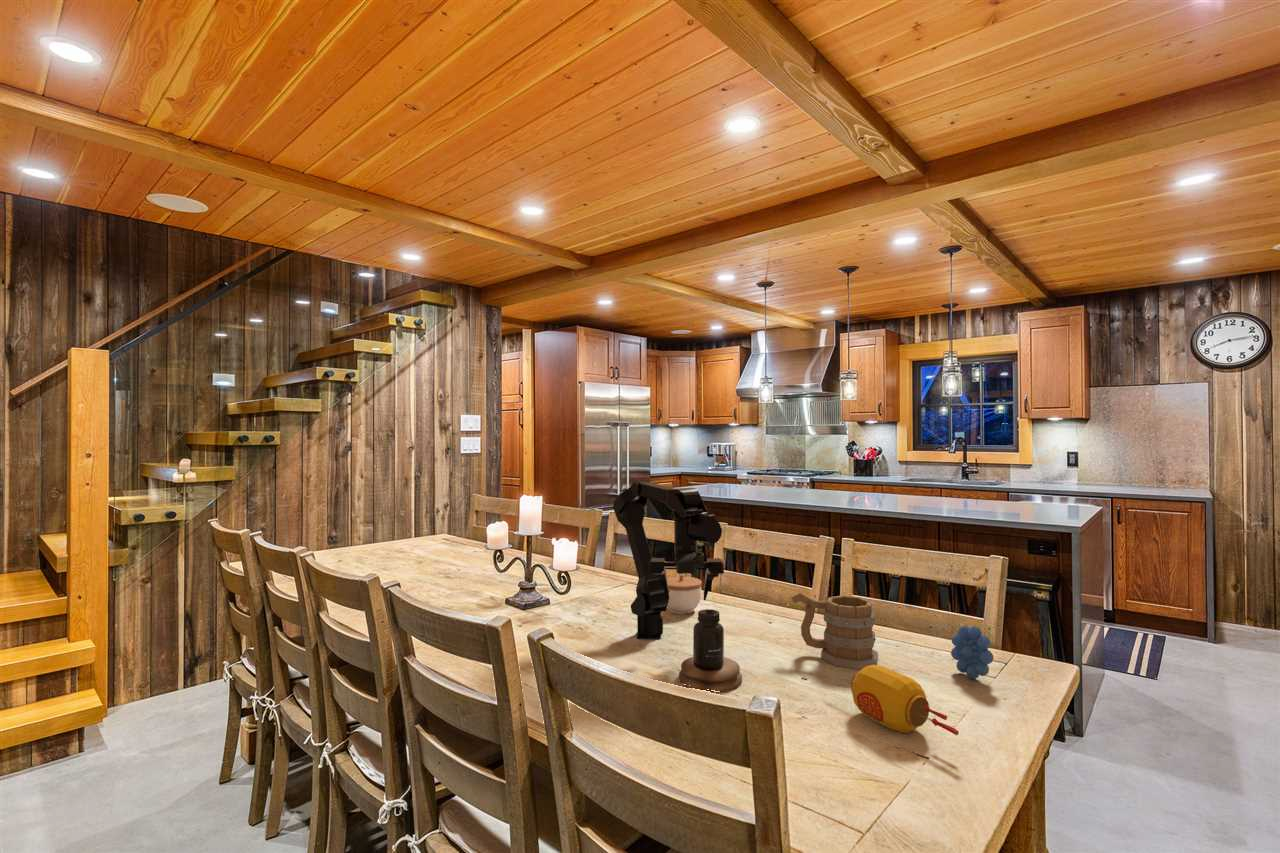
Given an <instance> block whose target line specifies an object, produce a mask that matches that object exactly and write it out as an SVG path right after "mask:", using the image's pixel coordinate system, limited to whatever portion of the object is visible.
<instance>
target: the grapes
mask: <svg viewBox="0 0 1280 853" xmlns="http://www.w3.org/2000/svg"><path fill="white" fill-rule="evenodd" d="M982 633H983V632H982V630H981V628H980V627H978V626H976V625H972V626H970V627H969V626H968V625H961V626H959V628H958V632H957V633H955V634H953V635H952V638H951V643H952V644H953V648H952V649H951V651H950V655H951V658H953V660H955V661H957V662H956V669H957V671H959V672H960V673H963V674H966V676H967V677H968V678H969V679H971V678H972V679H971V680H977V678H979V676H980V677H985V676H987V675H988V674H989V672H990V666H989V665H990V664H991V663H993V661H994V655H993V652H991V651H990V650H989V648H991V647H990V646H991V640H990V639H989V637H988V636H986V635H983V634H982Z"/></svg>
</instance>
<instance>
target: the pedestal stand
mask: <svg viewBox="0 0 1280 853" xmlns="http://www.w3.org/2000/svg"><path fill="white" fill-rule="evenodd" d="M740 670H741V669H740V665H739V663H738V662H736V661H735V660H733V659H732V658H728V657H725V656H724V664H723V667H722V668H721V669H719V670H714V671H706V670H701V669H698V668H696V667H695V666H694V664H693V656H691V657H688V658H686V659H684V660H683V661H682V662H681V665H680V671H679V673H678V680H680V681H679V683H680V684H681V683H683V684H686V685H683V687H686V688H687V687H689V688H695V689H700V690H706V691H710V692H714V691H711V690H715V691H720V693H726V691H727V692H730V691H733V690H736V689H737V687H738V686H739V687H740V686H741V685H742V683H743V676H742V673H741V671H740ZM689 685H690V686H689ZM739 687H738V688H739ZM689 688H688V689H689ZM707 689H709V690H707ZM717 693H719V692H716V693H715V694H717Z"/></svg>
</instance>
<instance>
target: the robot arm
mask: <svg viewBox="0 0 1280 853" xmlns="http://www.w3.org/2000/svg"><path fill="white" fill-rule="evenodd" d="M650 500H653V501H657V502H659V503H664V504H665V505H666V507H667V508H668V509H670V510H672V513H671V514H670V515H668V518H669V519H671V520H673V521H674V526H673V529H674V530H673V531H674V533H673V534H674V537H673V539H674V542H673V543H674V548H673V549H674V555H673V556H674V557H673V558H674V559H673V560H674V561H665V558H664V557H653V556H652V553H651V550H650V546H649V542H648V539H647V535H646V532H645V528H644V527H645V526H644V525H643V522H644V518H645V516H646V510H645V507H646V506H647V505H648V503H649V502H650ZM703 500H704V499H703V498H702V496H701V494H700V493H699V490H698V489H697V488H695V487H679V488H674V487H671V486H670V487H669V486H666V485H662V484H658V483H656V482H651V481H648V480H641V481H639V480H637V481H634V482H633V483H631V485H630V486H629V487H628V488H626V489H625V490H623V491H622V492H620V494H618V496H617V497H616V498H615V500H614V502H613V505H612V508H613V511H614V514H615V517H616V519H617V521H618V523H619V524H620V525H622V527H623V528H625V532H626V536H627V539H628V543H629V546H630V550H631V554H632V557H633V561H634V565H635V570H636V574H637V577H638V580H637V584H636V589H635V593H636V597H635V599H634V600H633V602H632V603H631V604H630V611H631V613H632V614H633V615H636V616H637V619H636V620H637V621H636V622H637V625H636V626H637V633H636V639H655V640H656V639H657V640H658V639H662V635H663V633H664V617H663V616H662V613H663V612H667V609H668V607H667V606H668V602H669V592H670V591H669V589H668V583H667V578H668V577H667V570H675V572H676V573H677V574H678V575H684V574H690V575H695V574H696V573H697V570H703V571H704V570H705V573H704V574H705V575H704V586H703V601H706V600H707V596H708V594H709V590H710V587H711V585H712V583H713V580H714V579H715V578H718V577H719V575H723V574H725V565H724V561H723V559H722V558H721V557H720V558H719V557H717V558H716V557H714V558H712V557H711V558H709V557H707V559H706V561H705V553H704V552H698V542H700V543H705V544H706V543H707V544H711V545H714V544H717V543H718V541H719V540H720V539H721V537H722V534H723V528H722V526H721V524H720V522H719V521H718V520H716V515H715V514H710V512H709V511H708V507H707V506H706V504H705V502H704V501H703Z"/></svg>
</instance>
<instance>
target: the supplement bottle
mask: <svg viewBox="0 0 1280 853" xmlns="http://www.w3.org/2000/svg"><path fill="white" fill-rule="evenodd" d="M697 621H698V622H696V623H695V624H694V626H693V629H692V630H693V632H692V633H693V638H692V639H693V644H692V649H693V651H692V655H693V656H692V657H693V664H694V666H695V667H696V668H698V669H701V670H706V671H714V670H719V669H721V668H722V667H723V664H724V657H725V655H724V654H725V651H724V650H725V649H724V648H725V646H724V645H725V629H724V626H723V625H722V624H721V623H720V621H721V619H720V611H719V610H715V609H707V608H706V609H700V610H698V612H697Z"/></svg>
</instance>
